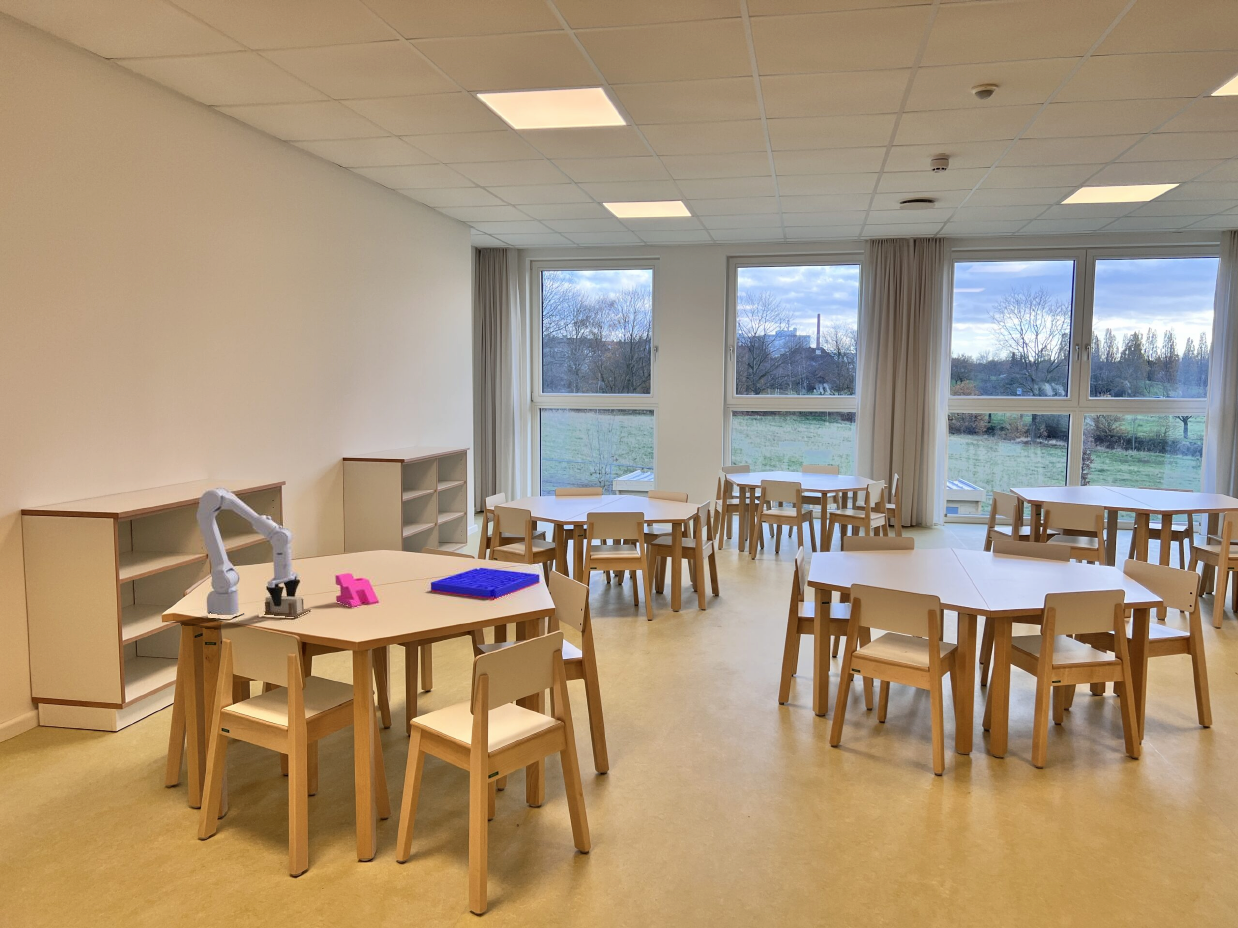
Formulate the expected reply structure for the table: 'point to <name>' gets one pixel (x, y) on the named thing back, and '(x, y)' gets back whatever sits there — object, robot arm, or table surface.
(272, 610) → the beige rectangular block
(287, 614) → the rack
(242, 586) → the table surface
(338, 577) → the bracket
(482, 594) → the maze
